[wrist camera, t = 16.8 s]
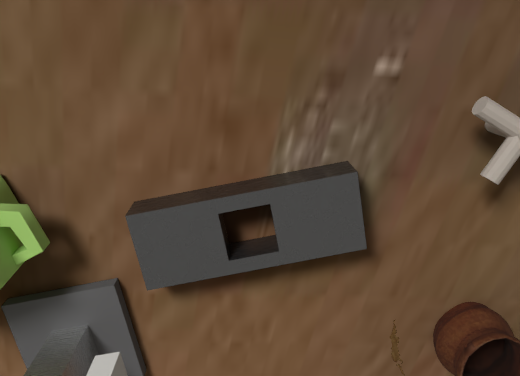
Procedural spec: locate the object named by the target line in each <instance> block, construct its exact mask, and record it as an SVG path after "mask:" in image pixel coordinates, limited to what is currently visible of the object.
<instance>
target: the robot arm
mask: <svg viewBox="0 0 520 376" xmlns="http://www.w3.org/2000/svg"><path fill="white" fill-rule="evenodd" d="M86 376H128V375H127V372H126V369H125V366H124V363H123V360H122V357H121V354H120V352H115V353H109V354H103V355H97V356H95V357H94V360H93V362H92V364H91V366H90V369H89V371H88V373H87V375H86Z"/></svg>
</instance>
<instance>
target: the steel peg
mask: <svg viewBox="0 0 520 376" xmlns="http://www.w3.org/2000/svg"><path fill="white" fill-rule="evenodd" d="M97 355H98V352H97V349H96V346H95V343H94V340H93V338H92V335H91V332H90V329H89V326H88V325H84V326H79V327H74V328H68V329H63V330H58V331H52V332H51V333H50V335H49V336H48V338H47V339H46V341H45V343H44V344H43V346H42V347H41V349H40V350H39V352H38V354H37V355H36V357H35V358H34V360H33V361H32V363H31V365H30V366H29V368H28V369H27V371H26V372H25V374H24V376H86V375H87V373H88V371H89V369H90V366H91V364H92V362H93V360H94V357H95V356H97Z"/></svg>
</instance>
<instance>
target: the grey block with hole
mask: <svg viewBox="0 0 520 376" xmlns="http://www.w3.org/2000/svg"><path fill="white" fill-rule="evenodd" d="M267 204H270V207H271V212H272V217H273V222H274V228H275V233H276V235H273V236H267V237H262V238H257V239H252V240H246V241H241V242H236V243H230V244H229V240H228V235H227V231H226V226H225V222H224V218H223V213H225V212H230V211H235V210H241V209H246V208H251V207H256V206H262V205H267ZM125 217H126V220H127V224H128V227H129V230H130V234H131V237H132V240H133V244H134V247H135V251H136V254H137V257H138V261H139V264H140V267H141V271H142V274H143V278H144V281H145V284H146V288H147V290H152V289H157V288H162V287H168V286H173V285H178V284H183V283H189V282H194V281H199V280H205V279H210V278H215V277H220V276H226V275H231V274H236V273H242V272H247V271H252V270H257V269H263V268H268V267H273V266H279V265H284V264H289V263H295V262H300V261H305V260H310V259H316V258H321V257H326V256H332V255H337V254H342V253H347V252H353V251H358V250H363V249H367V246H366V238H365V230H364V222H363V214H362V206H361V198H360V190H359V182H358V174H357V171H356V170H355V169H354V168H353V167H352V165H351V164H350V163H349V162H348V161H345V162H340V163H335V164H330V165H324V166H319V167H314V168H309V169H304V170H298V171H293V172H288V173H283V174H277V175H272V176H267V177H262V178H256V179H251V180H246V181H241V182H236V183H230V184H225V185H220V186H215V187H209V188H204V189H199V190H194V191H188V192H183V193H178V194H173V195H168V196H162V197H157V198H152V199H147V200H141V201H136V202H134V203H133V205H132V206H131V208H130V209H129V211H128V213H127V214H126V216H125Z"/></svg>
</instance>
